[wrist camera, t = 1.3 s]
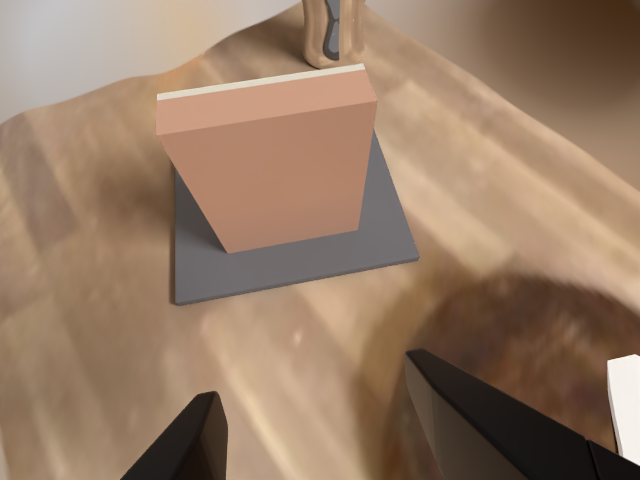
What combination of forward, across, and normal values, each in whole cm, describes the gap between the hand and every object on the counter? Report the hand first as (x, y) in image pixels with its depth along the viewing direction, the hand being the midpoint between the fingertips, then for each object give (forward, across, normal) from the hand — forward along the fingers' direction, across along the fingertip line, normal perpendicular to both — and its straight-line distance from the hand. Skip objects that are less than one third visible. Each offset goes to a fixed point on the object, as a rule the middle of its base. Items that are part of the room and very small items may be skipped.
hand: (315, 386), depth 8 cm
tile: (+17, 0, +1) cm, 17 cm away
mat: (+21, 0, -2) cm, 21 cm away
